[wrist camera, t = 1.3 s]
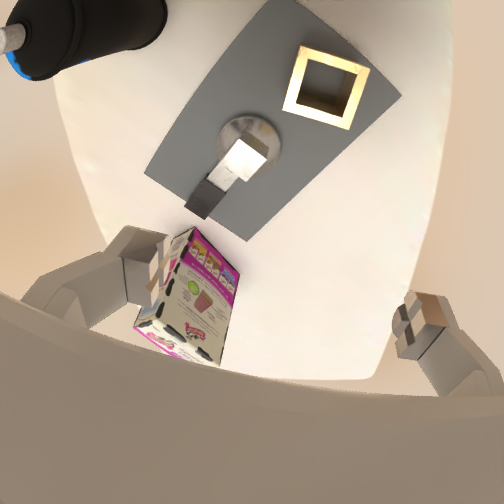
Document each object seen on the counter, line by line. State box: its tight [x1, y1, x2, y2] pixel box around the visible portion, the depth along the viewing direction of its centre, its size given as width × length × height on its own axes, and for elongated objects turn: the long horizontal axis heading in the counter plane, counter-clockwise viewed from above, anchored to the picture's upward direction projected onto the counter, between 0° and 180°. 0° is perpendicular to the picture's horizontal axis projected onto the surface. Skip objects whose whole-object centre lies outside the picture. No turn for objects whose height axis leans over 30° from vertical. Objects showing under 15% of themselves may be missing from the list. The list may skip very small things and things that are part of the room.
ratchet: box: [184, 114, 281, 220], centre depth 35 cm, size 15×7×5 cm, turn 143°
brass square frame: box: [283, 44, 370, 130], centre depth 26 cm, size 6×6×6 cm
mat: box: [144, 0, 402, 242], centre depth 33 cm, size 28×17×1 cm, turn 143°
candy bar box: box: [133, 227, 240, 367], centre depth 42 cm, size 11×5×16 cm, turn 36°
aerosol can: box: [0, 0, 167, 81], centre depth 18 cm, size 8×8×20 cm
